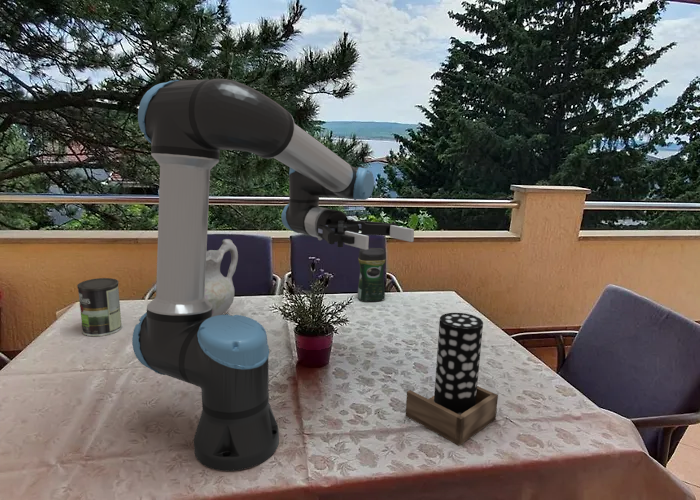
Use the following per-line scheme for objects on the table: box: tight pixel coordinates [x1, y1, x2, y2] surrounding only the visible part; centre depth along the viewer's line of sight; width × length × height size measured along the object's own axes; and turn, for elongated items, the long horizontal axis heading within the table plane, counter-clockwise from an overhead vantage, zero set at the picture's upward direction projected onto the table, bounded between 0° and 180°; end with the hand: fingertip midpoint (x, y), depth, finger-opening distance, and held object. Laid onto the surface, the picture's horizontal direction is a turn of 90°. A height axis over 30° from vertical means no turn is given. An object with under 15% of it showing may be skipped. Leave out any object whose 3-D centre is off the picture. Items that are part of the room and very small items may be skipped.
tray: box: [405, 385, 499, 446], centre depth 96 cm, size 13×13×6 cm
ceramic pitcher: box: [205, 238, 239, 317], centre depth 143 cm, size 22×20×25 cm
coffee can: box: [76, 277, 123, 338], centre depth 135 cm, size 10×10×14 cm
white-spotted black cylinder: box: [433, 312, 484, 415], centre depth 95 cm, size 8×8×20 cm
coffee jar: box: [357, 247, 386, 302], centre depth 167 cm, size 10×8×19 cm
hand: (391, 239), depth 99 cm, fingers open, 13 cm apart
